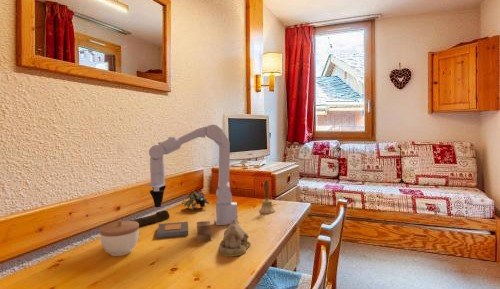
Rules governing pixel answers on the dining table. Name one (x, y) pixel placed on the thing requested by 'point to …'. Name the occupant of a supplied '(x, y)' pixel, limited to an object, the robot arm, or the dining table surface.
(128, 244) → the lidded bowl
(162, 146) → the robot arm
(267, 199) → the hand bell
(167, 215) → the hand tool
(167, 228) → the grey square picture frame
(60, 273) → the dining table surface
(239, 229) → the ceramic model
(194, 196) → the green leafy plant
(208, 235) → the taupe wooden cube
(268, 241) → the dining table surface
